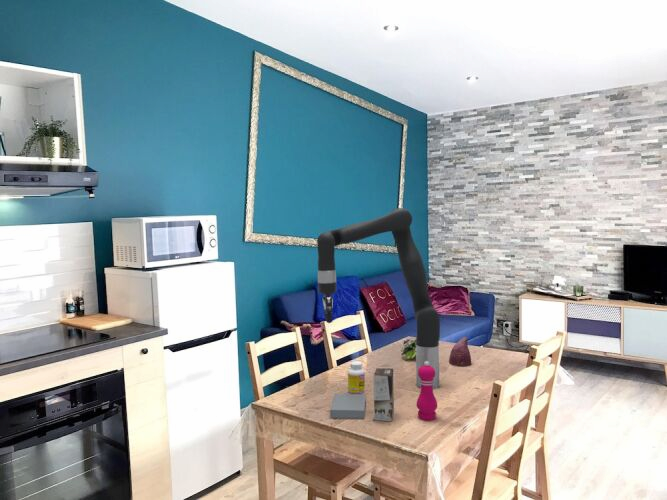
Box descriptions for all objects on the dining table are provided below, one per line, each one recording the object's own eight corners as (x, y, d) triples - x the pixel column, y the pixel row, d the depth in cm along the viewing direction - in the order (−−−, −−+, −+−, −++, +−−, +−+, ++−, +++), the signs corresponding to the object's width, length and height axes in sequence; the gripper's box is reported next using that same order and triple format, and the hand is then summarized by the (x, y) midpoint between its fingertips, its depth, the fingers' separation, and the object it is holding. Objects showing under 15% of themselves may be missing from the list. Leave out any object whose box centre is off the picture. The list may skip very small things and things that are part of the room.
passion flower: (406, 367, 255) (409, 344, 261) (426, 366, 249) (428, 343, 254) (395, 358, 248) (398, 336, 254) (414, 358, 241) (417, 334, 247)
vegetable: (472, 368, 243) (481, 339, 242) (465, 372, 234) (474, 341, 233) (452, 360, 249) (460, 331, 247) (444, 363, 240) (453, 333, 239)
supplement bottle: (360, 398, 198) (359, 366, 197) (345, 395, 201) (344, 364, 200) (367, 393, 204) (367, 361, 203) (352, 390, 207) (352, 359, 206)
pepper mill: (414, 413, 182) (414, 358, 181) (434, 412, 183) (433, 357, 182) (419, 421, 175) (419, 364, 174) (439, 420, 176) (439, 363, 174)
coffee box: (392, 421, 175) (391, 376, 174) (373, 420, 177) (373, 375, 176) (394, 411, 184) (394, 368, 183) (376, 410, 186) (376, 367, 184)
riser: (365, 402, 194) (365, 394, 194) (364, 418, 178) (364, 410, 178) (334, 401, 195) (334, 393, 195) (330, 418, 179) (330, 409, 179)
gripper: (337, 283, 200) (339, 323, 202) (334, 278, 215) (335, 316, 216) (319, 283, 200) (320, 324, 201) (316, 279, 214) (318, 317, 215)
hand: (328, 320), depth 208 cm, fingers open, 8 cm apart
